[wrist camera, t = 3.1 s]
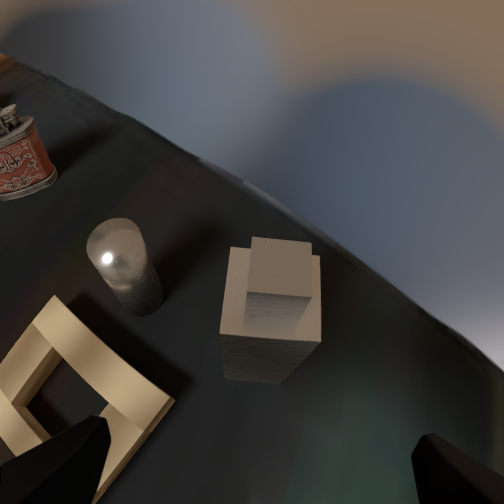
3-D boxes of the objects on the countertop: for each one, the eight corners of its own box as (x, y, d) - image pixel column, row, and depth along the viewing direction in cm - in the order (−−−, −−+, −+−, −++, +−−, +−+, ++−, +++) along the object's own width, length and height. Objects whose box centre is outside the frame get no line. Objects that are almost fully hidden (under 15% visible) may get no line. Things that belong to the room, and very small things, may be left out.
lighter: (59, 165, 29) (29, 89, 21) (55, 186, 27) (18, 108, 19) (3, 183, 28) (-34, 118, 19) (-4, 205, 26) (-46, 138, 17)
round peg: (172, 291, 22) (152, 234, 17) (144, 324, 21) (112, 278, 15) (140, 268, 23) (114, 209, 17) (113, 299, 22) (76, 248, 16)
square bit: (280, 383, 19) (337, 323, 9) (225, 378, 19) (217, 313, 9) (283, 332, 21) (332, 226, 11) (230, 327, 21) (231, 215, 11)
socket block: (175, 400, 18) (169, 397, 17) (87, 512, 13) (75, 518, 11) (65, 306, 21) (54, 294, 19) (-9, 405, 16) (-24, 400, 14)
